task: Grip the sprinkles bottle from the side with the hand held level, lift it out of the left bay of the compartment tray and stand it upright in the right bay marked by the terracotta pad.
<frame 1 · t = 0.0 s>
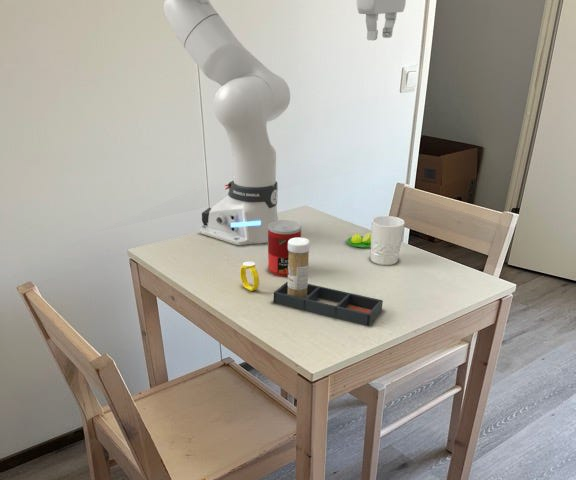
hand: (379, 38, 126), 48 cm above the table, tool pointing down, fingers open, 8 cm apart
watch: (249, 289, 135), on the table
compartment tray: (327, 306, 128), on the table
green plate with lemons: (361, 244, 159), on the table
sprinkles bottle: (297, 300, 130), resting in compartment tray
canned food: (284, 271, 144), on the table
white cup: (383, 260, 150), on the table
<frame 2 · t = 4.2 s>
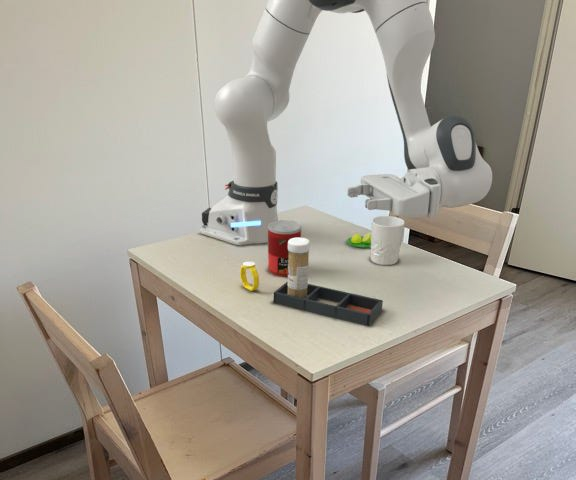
hand: (357, 198, 122), 21 cm above the table, tool horizontal, fingers open, 8 cm apart
nothing on the table moved.
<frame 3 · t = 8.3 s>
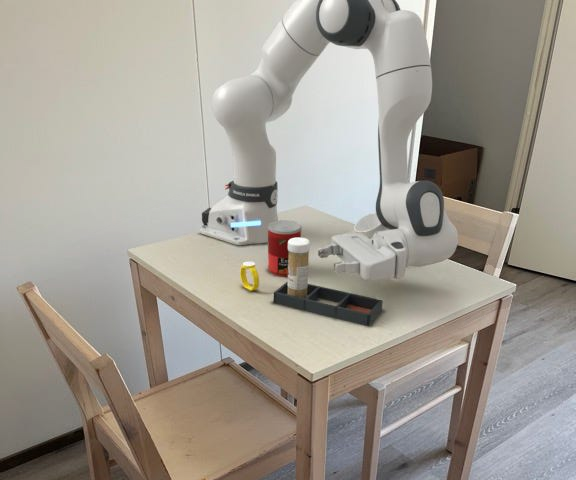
hand: (326, 260, 126), 9 cm above the table, tool horizontal, fingers open, 8 cm apart
white cup: (383, 256, 149), point 1 cm above the table, touching arm
everything else where it was.
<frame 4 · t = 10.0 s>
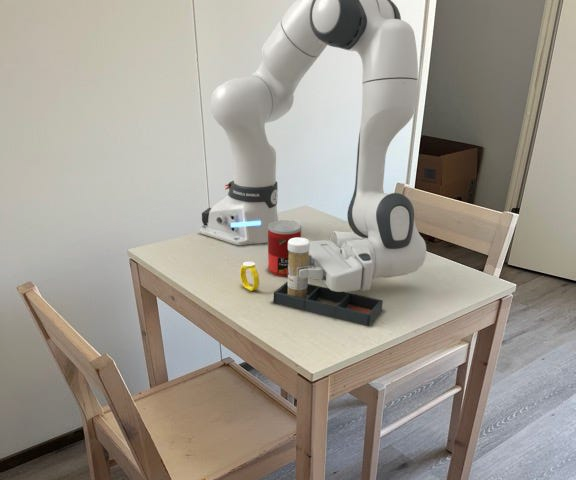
hand: (294, 268, 126), 8 cm above the table, tool horizontal, fingers closed on sprinkles bottle, 4 cm apart
sprinkles bottle: (297, 300, 130), resting in compartment tray, touching gripper
white cup: (373, 248, 147), point 3 cm above the table
everything else where it was.
when the fingers open (8 cm above the table, at t = 17.6 s): sprinkles bottle stays where it is, resting on compartment tray.
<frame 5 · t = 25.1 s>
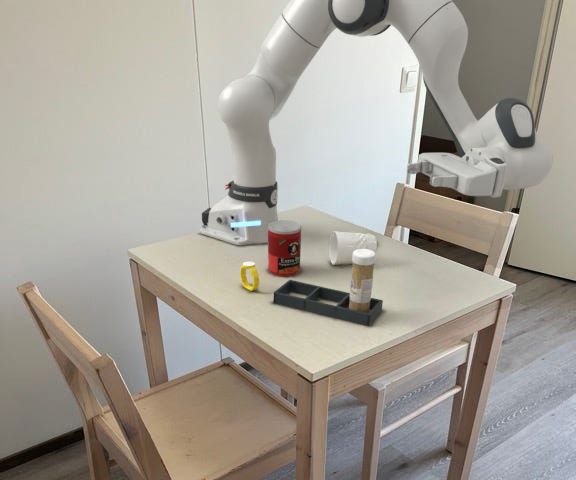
hand: (419, 175, 119), 26 cm above the table, tool horizontal, fingers open, 8 cm apart
sprinkles bottle: (358, 314, 125), resting on compartment tray
everything else where it was.
at the end: sprinkles bottle 0.1 cm from the target spot on the compartment tray, point 0.0 cm above the compartment tray's base; sprinkles bottle tilted 0°; the gripper is holding nothing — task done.
